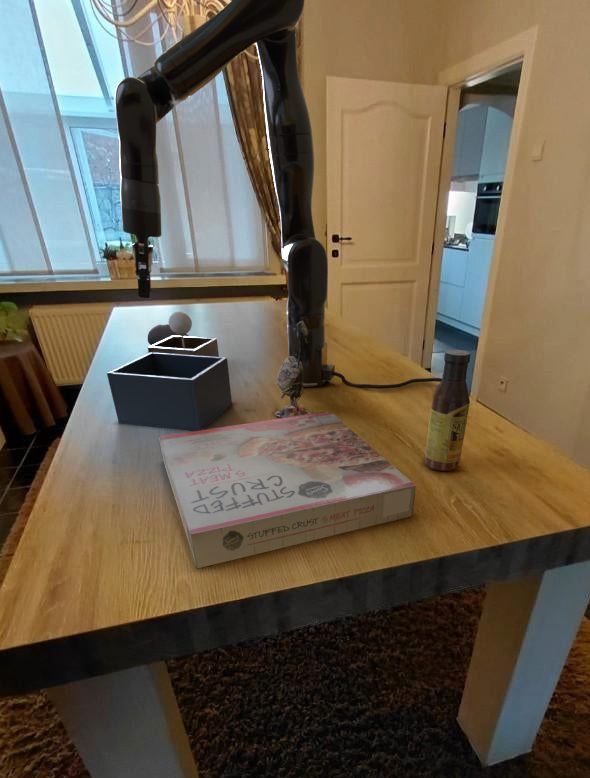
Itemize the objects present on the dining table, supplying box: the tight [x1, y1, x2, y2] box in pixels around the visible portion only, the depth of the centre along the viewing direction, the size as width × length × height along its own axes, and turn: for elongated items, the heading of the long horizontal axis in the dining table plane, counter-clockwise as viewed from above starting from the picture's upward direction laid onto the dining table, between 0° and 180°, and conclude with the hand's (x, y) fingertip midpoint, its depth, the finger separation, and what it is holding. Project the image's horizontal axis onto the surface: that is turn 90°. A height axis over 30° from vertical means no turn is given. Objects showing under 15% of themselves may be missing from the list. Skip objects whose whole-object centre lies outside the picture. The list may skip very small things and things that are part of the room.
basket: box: [147, 336, 220, 357], centre depth 136 cm, size 14×14×7 cm
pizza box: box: [158, 410, 417, 569], centre depth 79 cm, size 32×5×32 cm
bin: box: [106, 352, 233, 432], centre depth 106 cm, size 19×17×11 cm
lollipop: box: [167, 310, 193, 349], centre depth 134 cm, size 6×6×15 cm
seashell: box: [147, 323, 191, 346], centre depth 157 cm, size 14×19×8 cm
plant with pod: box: [273, 321, 312, 418], centre depth 103 cm, size 8×11×20 cm
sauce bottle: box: [424, 349, 471, 472], centre depth 83 cm, size 6×6×20 cm
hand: (145, 294), depth 107 cm, fingers open, 8 cm apart
